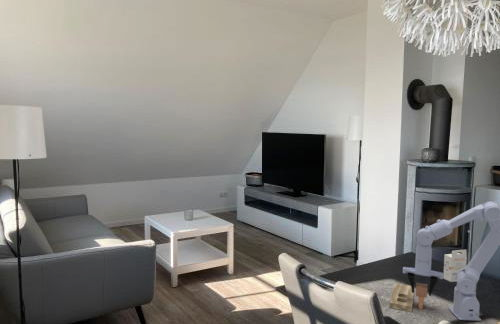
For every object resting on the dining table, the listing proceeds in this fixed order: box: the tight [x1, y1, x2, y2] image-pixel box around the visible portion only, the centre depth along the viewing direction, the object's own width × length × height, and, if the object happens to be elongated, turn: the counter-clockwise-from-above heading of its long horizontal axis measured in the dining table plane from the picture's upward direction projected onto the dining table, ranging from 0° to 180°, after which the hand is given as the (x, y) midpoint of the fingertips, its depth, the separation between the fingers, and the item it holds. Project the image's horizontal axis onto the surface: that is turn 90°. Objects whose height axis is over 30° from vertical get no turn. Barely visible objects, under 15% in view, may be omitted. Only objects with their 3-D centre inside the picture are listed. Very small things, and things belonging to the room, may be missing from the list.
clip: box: [415, 282, 429, 310], centre depth 161 cm, size 4×7×8 cm, turn 156°
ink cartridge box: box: [442, 249, 468, 283], centre depth 189 cm, size 9×5×15 cm, turn 105°
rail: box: [389, 282, 416, 312], centre depth 167 cm, size 8×22×2 cm, turn 156°
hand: (421, 293), depth 161 cm, fingers open, 5 cm apart
